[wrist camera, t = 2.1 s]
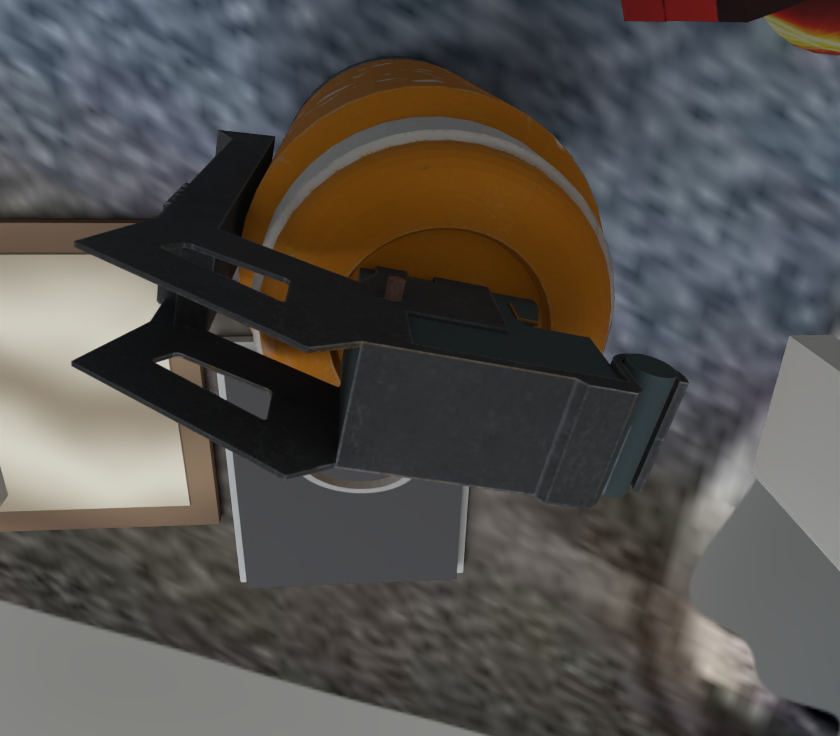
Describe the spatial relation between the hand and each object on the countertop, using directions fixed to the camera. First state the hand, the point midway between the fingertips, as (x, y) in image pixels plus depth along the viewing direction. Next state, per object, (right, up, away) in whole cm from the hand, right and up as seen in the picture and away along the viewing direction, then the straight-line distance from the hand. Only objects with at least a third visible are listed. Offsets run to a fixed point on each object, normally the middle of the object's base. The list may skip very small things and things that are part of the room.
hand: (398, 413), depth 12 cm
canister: (-2, +9, +17) cm, 19 cm away
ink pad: (-3, -4, +23) cm, 23 cm away
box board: (-16, 0, +20) cm, 25 cm away
